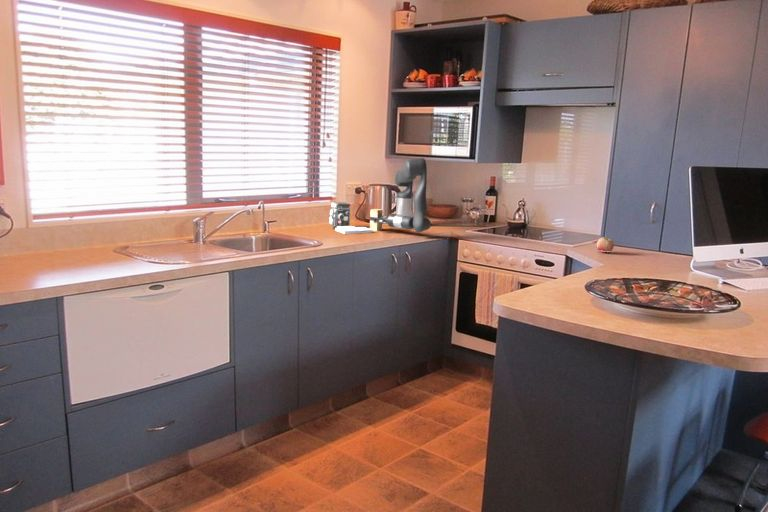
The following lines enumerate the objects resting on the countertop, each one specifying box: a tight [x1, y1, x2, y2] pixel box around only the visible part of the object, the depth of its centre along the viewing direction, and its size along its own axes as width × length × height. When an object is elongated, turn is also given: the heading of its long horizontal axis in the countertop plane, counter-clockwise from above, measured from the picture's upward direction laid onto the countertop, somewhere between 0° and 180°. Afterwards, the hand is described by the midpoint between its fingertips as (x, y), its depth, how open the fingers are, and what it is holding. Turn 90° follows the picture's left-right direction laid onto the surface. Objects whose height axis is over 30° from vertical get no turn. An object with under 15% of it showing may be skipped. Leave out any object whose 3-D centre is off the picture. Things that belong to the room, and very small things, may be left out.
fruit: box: [596, 236, 615, 252], centre depth 314 cm, size 8×8×8 cm
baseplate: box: [334, 225, 374, 235], centre depth 346 cm, size 18×12×2 cm, turn 119°
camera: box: [328, 201, 351, 229], centre depth 354 cm, size 10×10×15 cm
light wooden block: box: [369, 208, 384, 232], centre depth 354 cm, size 5×5×12 cm
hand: (374, 217), depth 355 cm, fingers open, 8 cm apart
